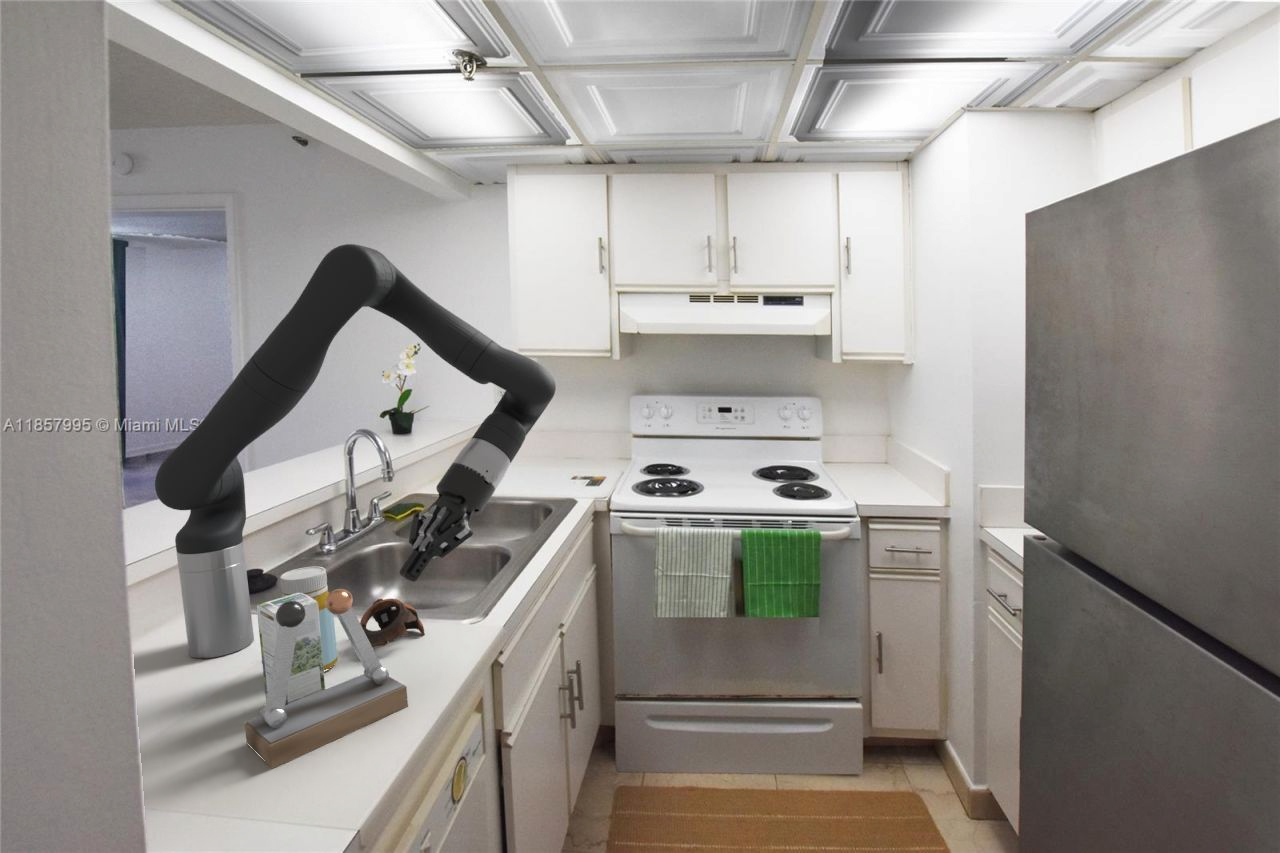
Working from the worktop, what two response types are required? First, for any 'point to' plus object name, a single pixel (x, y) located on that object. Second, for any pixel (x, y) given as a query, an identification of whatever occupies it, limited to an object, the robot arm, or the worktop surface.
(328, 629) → the bottle
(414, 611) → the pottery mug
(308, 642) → the syrup box
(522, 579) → the worktop surface
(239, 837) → the worktop surface
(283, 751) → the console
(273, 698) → the lever black
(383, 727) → the worktop surface
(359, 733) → the worktop surface
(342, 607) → the lever terracotta
